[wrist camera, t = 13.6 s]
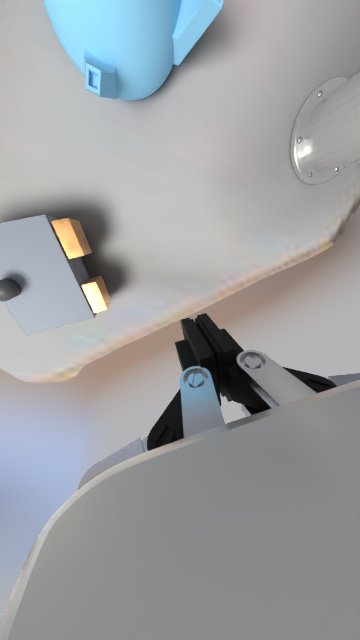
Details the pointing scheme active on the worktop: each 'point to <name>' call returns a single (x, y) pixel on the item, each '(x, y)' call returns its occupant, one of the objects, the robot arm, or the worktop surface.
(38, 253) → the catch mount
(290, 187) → the worktop surface
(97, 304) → the knob
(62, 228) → the knob
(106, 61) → the teapot
